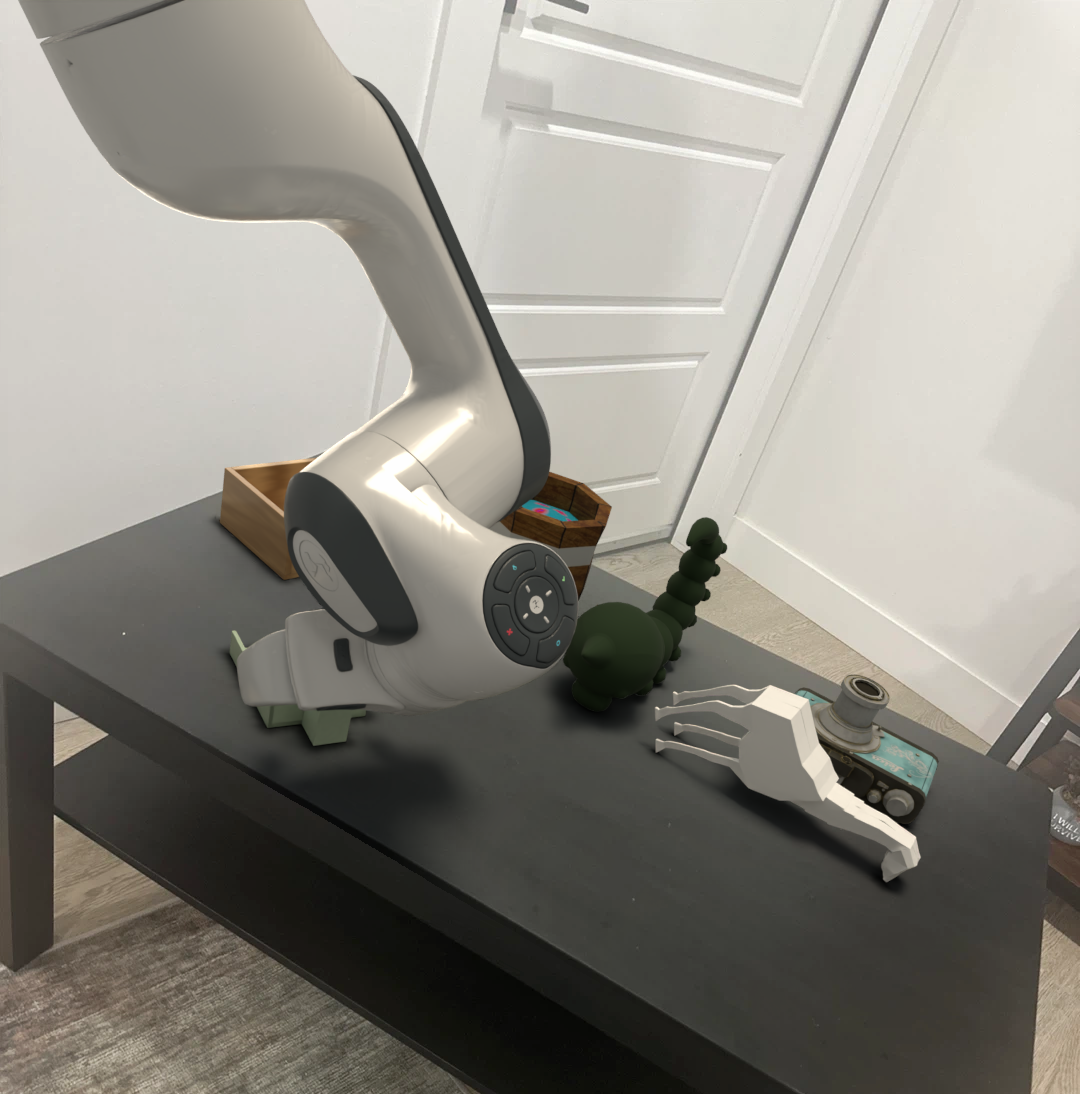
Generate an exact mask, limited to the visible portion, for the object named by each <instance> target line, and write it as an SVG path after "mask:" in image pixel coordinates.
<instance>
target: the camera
mask: <svg viewBox="0 0 1080 1094" xmlns="http://www.w3.org/2000/svg"><path fill="white" fill-rule="evenodd" d="M840 689H841V691H840V692H839V694H838V697H837V698H836V700H832V699H830V698H828V697H826V696H825V695H823V694H821V693H819V692H817V691H815V690H813V689H811V688H808V687H800V688H798V689H797V690H795V692H794V694H795V695H798V696H801V697H803V698H806V699H809V703H810V708H811V712H812V717H813V721H814V726H815V730H816V733H817V737H818V741H819V744H820V745H821V747H822V748H823V749H824V751H825V752H826V753H827V755H828V756H829V757H830V760H831V762H832V765H833V768H834V771H835V772H836V774H837V776H838V778H839V779H838V781H837V782H836V783H838V784H839V785H841V786H842V787H844V788H845V789H847V790H849V791H850V792H852V793H853V794H855V795H854V796H855V797H857V798H859V799H860V800H862V801H864V804H866V805H868V806H870V807H872V808H873V809H875V810H877V811H879V812H881V813H883V814H885V815H887V816H888V817H889V818H891V819H892V820H893V821H894V822H896V823H897V824H903V825H907V824H908V825H909V824H911V823H912V822H914V821H915V819H916V818H917V817H918V815H919V814H920V812H921V811H922V809H923V808H924V806H925V804H926V801H927V800H926V799H927V797H928V795H929V791H930V789H931V786H932V783H933V781H934V780H933V779H934V778H935V775H936V772H937V769H938V767H939V762H940V761H939V758H938V756H937V755H936V754H935V753H934V752H932V751H930V750H929V749H927V748H924V747H922V746H921V745H918V744H917V743H915V742H913V741H910V740H909V739H907V738H905V737H903V736H901V735H899V734H898V733H895V732H893V731H891V730H889V729H888V728H886V727H884V726H882V725H880V724H878V723H876V722H874V719H875V718H876V716H877V715H878V713H879V711H880V710H884V709H885V708H887V706H888V704H889V703H890V701H891V696H890V694H889V692H888V690H887V689H886V688H885V687H883V686H882V685H881V684H880V683H879V682H877V681H876V680H873V679H871V678H870V677H867V676H864V675H861V674H856V673H855V674H853V673H850V674H847V675H846V676H844V678H843V679H842V681H841V682H840Z"/></svg>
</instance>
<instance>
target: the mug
mask: <svg viewBox="0 0 1080 1094" xmlns="http://www.w3.org/2000/svg"><path fill="white" fill-rule="evenodd" d="M612 508H613V506H612V505H610V503H608V502H607V501H606V500H605V499H603V498H602V497H601V496H600V495H598V493H596V492H595V491H594V490H593V489H591V488H590V487H589V486H588V485H586V484H585V483H584V482H581V481H578V480H575V479H572V478H569V477H567V476H563V475H562V474H558V473H555V472H552V471H549V475H548V478H547V481H546V483H545V485H544V487H543V488H542V490H541V491H540V492H539V493H538V494H537V495H536V496H535V497H533V498H532V499H531V500H529V501H528V502H526V503H525V504H524V505H522V506H521V507H519V508H518V509H517V510H515V511H514V512H512V513H511V514H510V515H508V516H507V517H505V518H504V519H503V520H501V521H499V522H497V523H495V524H494V525H493V526H492V527H491V528H490V530H492V531H494V532H496V533H498V534H500V535H503V536H506V537H510V538H514V539H521V540H529V541H534V542H537V543H540V544H543V545H545V546H547V547H548V548H550V549H552V550H553V551H554V552H555V553H556V554H557V555H559V556H560V558H561V559H562V560H563V561H564V562H565V564H566V565H567V567H568V569H569V570H570V572H571V574H572V577H573V579H574V582H575V586H576V590H577V595H578V602H579V601H580V599H581V596H582V594H583V592H584V590H585V587H586V584H587V580H588V577H589V574H590V570H591V569H592V568H591V567H592V563H593V560H594V555H595V551H596V547H597V545H598V543H599V542H600V539H601V538H602V535H603V533H604V531H605V529H606V527H607V524H608V521H609V517H610V515H611V512H612Z"/></svg>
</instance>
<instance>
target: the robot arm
mask: <svg viewBox="0 0 1080 1094" xmlns="http://www.w3.org/2000/svg"><path fill="white" fill-rule="evenodd" d="M17 1H18V3H19V6H20V7H21V9H22V12H23V13H24V15H25V18H26V20H27V22H28V24H29V25H30V28H31V30H32V32H33V35H34V36H35V38H36V39H39V40H40V39H44V40H42V41H41V42H39V46H40V48H41V50H42V52H43V54H44V56H45V58H46V60H47V62H48V64H49V66H50V69H51V70H52V72H53V74H54V77H55V78H56V80H57V82H58V84H59V86H60V88H61V90H62V92H63V94H64V96H65V98H66V100H67V102H68V103H69V105H70V107H71V109H72V111H73V113H74V114H75V116H76V117H77V120H78V121H79V123H80V124H81V126H82V128H83V129H84V131H85V132H86V134H87V135H88V137H89V139H90V140H91V142H92V144H93V145H94V146H95V148H96V149H97V151H98V152H99V154H100V155H101V156H102V157H103V159H104V160H105V161H106V163H107V164H108V166H110V168H111V169H112V170H113V171H114V173H116V174H117V175H118V176H119V177H121V179H123V180H124V181H125V182H126V183H127V184H129V185H130V186H132V187H133V188H134V189H136V190H137V191H139V192H140V193H142V195H144V196H145V197H148V198H150V199H151V200H152V201H155V202H157V203H158V204H160V205H162V206H165V207H166V208H169V209H170V210H173V211H176V212H178V213H181V214H184V215H187V216H189V217H190V216H191V217H195V218H198V219H203V220H207V221H215V222H221V223H223V222H224V223H225V222H226V223H242V224H243V223H244V224H245V223H246V224H252V223H253V224H256V223H257V224H259V223H260V224H262V223H263V224H264V223H265V224H267V223H269V224H271V223H310V224H314V225H317V226H321V227H323V228H325V229H327V230H329V231H330V232H332V233H333V234H335V235H336V236H338V238H340V239H341V241H343V242H344V243H345V244H346V245H347V247H348V248H349V249H350V250H351V252H352V253H353V254H354V256H355V258H356V259H357V261H358V263H359V264H360V266H361V268H362V270H363V272H364V274H365V276H366V278H367V280H368V281H369V283H370V286H371V288H372V290H373V291H374V293H375V295H376V297H377V299H378V301H379V303H380V305H381V307H382V309H383V311H384V312H385V315H386V316H387V318H388V320H389V323H390V324H391V326H392V328H393V329H394V331H395V334H396V335H397V338H398V339H399V341H400V343H401V345H402V347H403V349H404V351H405V352H406V355H407V357H408V359H409V362H410V374H409V379H408V382H407V386H405V389H404V391H403V393H402V395H401V396H400V397H399V398H397V399H396V400H395V401H394V402H393V403H391V404H390V405H388V406H387V407H386V408H384V409H383V410H381V412H379V413H378V414H376V415H375V416H374V417H372V418H371V419H370V420H368V421H367V422H366V423H365V424H363V425H361V426H360V427H359V428H358V429H356V430H355V431H352V432H350V433H348V434H347V435H346V436H345V437H343V438H342V439H341V440H339V441H338V442H336V443H335V444H334V445H332V446H331V447H330V448H328V449H326V450H325V451H324V452H323V453H322V454H321V455H318V456H317V457H315V458H316V459H315V460H314V461H313V462H311V463H310V464H309V465H308V466H306V467H305V468H304V469H302V470H301V471H300V472H299V473H297V474H295V475H294V476H293V477H292V478H291V479H290V481H289V483H288V487H287V490H286V494H285V501H284V524H285V533H286V540H287V546H288V551H289V555H290V559H291V561H292V564H293V566H294V568H295V570H296V572H297V574H298V575H299V577H298V578H299V579H300V580H301V582H302V583H303V584H304V586H305V588H306V589H307V590H308V591H309V593H310V594H311V596H312V597H313V598H314V599H315V600H316V602H317V603H318V604H319V605H320V606H321V608H315V609H309V610H306V611H300V612H296V613H292V614H291V615H289V616H288V617H287V618H285V620H284V627H285V628H284V629H280V630H277V631H274V632H272V633H269V634H266V636H263V637H262V638H260V639H258V640H257V641H255V642H254V643H252V644H250V645H249V646H248V648H247V647H246V648H247V649H245V650H244V651H243V652H242V653H241V654H240V655H239V656H238V659H237V667H236V671H237V672H236V673H237V681H238V686H239V692H240V696H241V699H242V702H243V703H244V705H246V706H248V707H255V708H257V706H279V705H298V708H299V709H300V710H303V711H311V710H317V711H325V710H357V709H361V710H366V711H369V712H375V713H381V714H393V715H397V716H402V717H416V716H422V715H426V714H431V713H434V712H438V711H442V710H446V709H449V708H454V707H457V706H459V705H461V704H464V703H466V702H474V701H481V700H484V699H489V698H492V697H495V696H499V695H503V694H506V693H508V692H511V691H513V690H516V689H518V688H520V687H523V686H525V685H527V684H529V683H531V682H533V681H535V680H537V679H539V678H540V677H542V676H544V675H545V674H547V673H548V672H549V671H550V670H551V669H553V668H554V667H555V666H556V665H557V664H558V663H559V662H560V661H561V659H563V657H564V656H565V654H566V650H567V649H568V647H569V645H570V643H571V641H572V638H573V635H574V633H575V629H576V624H577V619H578V618H579V617H578V616H579V601H578V595H577V590H576V586H575V582H574V579H573V577H572V574H571V572H570V570H569V569H568V567H567V565H566V564H565V562H564V561H563V560H562V559H561V558H560V556H559V555H557V554H556V553H555V552H554V551H553V550H552V549H550V548H548V547H547V546H545V545H543V544H540V543H537V542H534V541H529V540H521V539H514V538H510V537H506V536H503V535H500V534H498V533H496V532H494V531H492V530H490V528H491V527H492V526H493V525H494V524H495V523H497V522H499V521H501V520H503V519H504V518H505V517H507V516H508V515H510V514H511V513H512V512H514V511H515V510H517V509H518V508H519V507H521V506H522V505H524V504H525V503H526V502H528V501H529V500H531V499H532V498H533V497H535V496H536V495H537V494H538V493H539V492H540V491H541V490H542V488H543V487H544V485H545V483H546V481H547V478H548V475H549V472H551V471H550V469H551V464H552V463H551V461H552V443H551V433H550V427H549V423H548V419H547V417H546V414H545V411H544V409H543V406H542V405H541V403H540V400H539V398H538V397H537V395H536V394H535V392H534V390H533V389H532V387H531V386H530V384H529V383H528V382H527V380H526V379H525V377H524V375H523V374H522V373H521V370H519V368H518V366H517V365H516V363H515V362H514V359H513V358H512V356H511V355H510V353H509V351H508V349H507V347H506V345H505V343H504V341H503V339H502V337H501V336H502V335H501V334H500V331H499V330H498V326H497V325H496V323H495V321H494V318H493V316H492V314H491V312H490V309H489V307H488V304H487V302H486V300H485V298H484V295H483V292H482V291H481V288H480V286H479V283H478V282H477V279H476V277H475V275H474V272H473V269H472V267H471V265H470V263H469V261H468V258H467V256H466V254H465V252H464V249H463V247H462V245H461V242H460V240H459V238H458V235H457V232H456V231H455V229H454V227H453V224H452V222H451V219H450V216H449V215H448V212H447V210H446V208H445V205H444V203H443V201H442V199H441V196H440V194H439V192H438V190H437V188H436V185H435V183H434V181H433V178H432V176H431V175H430V171H429V170H428V167H427V166H426V164H425V162H424V159H423V157H422V156H421V154H420V151H419V149H418V147H417V146H416V143H415V141H414V140H413V138H412V135H411V134H410V132H409V130H408V128H407V126H406V124H405V123H404V122H403V119H402V118H401V116H400V115H399V114H398V112H397V110H396V109H395V107H394V106H393V104H392V103H391V102H390V100H389V99H388V98H387V97H386V95H385V94H384V93H383V92H382V91H381V90H380V89H379V88H377V87H376V86H375V85H374V83H372V82H370V81H369V80H366V79H365V78H362V77H360V76H358V75H354V74H352V73H351V72H350V71H349V69H348V68H347V67H346V66H345V65H344V64H343V62H342V61H341V59H340V58H339V57H338V55H337V53H336V52H335V51H334V49H333V48H332V47H331V45H330V44H329V42H328V41H327V39H326V37H325V35H324V34H323V33H322V30H321V29H320V27H319V26H318V23H317V22H316V20H315V19H314V16H313V14H312V12H311V11H310V9H309V7H308V5H307V2H306V0H17Z"/></svg>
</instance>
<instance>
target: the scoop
mask: <svg viewBox="0 0 1080 1094" xmlns="http://www.w3.org/2000/svg"><path fill="white" fill-rule="evenodd" d="M248 647H249V646H248ZM248 647H245V645H244V643H243V641H242V639H241V637H240V635H239V634H238V631H237V630H231V636H230V645H229V655H230V656H231V659H232V661H233V663H234V664H235V666H236V668H237V659H238V656H239V655H240V654H241V653H242V652H243V651H244V650H245V649H247V648H248ZM256 708H257V710H258V712H259V714H260V716H261V718H262V721H263V723H264V724H265V726H266V728H267V729H271V728H278V727H286V726H295V725H301V726H302V728H303V730H304V731H305V733H306V735H307V737H308V738H309V741H310V742H311V744H312V746H313V747H315V746H323V745H329V744H336V743H338V744H339V743H345V742H347V739H348V734H349V729H350V726H351V725H350V724H351V720H352V719H353V718H359V717H365V716H366V714H367V710H361V709H357V710H325V711H317V710H311V711H303V710H300V709H299V708H298V705H279V706H257V707H256Z"/></svg>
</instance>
